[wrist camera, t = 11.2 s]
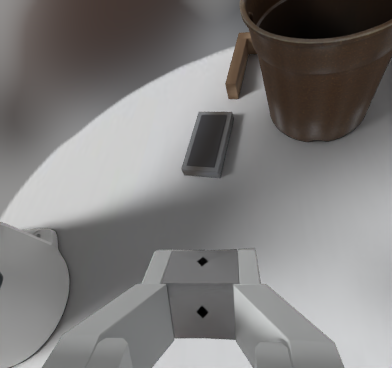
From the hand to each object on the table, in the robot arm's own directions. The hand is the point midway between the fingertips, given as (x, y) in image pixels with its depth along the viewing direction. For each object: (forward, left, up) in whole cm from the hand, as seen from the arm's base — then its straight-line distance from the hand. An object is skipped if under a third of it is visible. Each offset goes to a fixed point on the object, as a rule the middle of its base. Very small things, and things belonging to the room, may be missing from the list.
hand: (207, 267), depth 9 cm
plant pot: (+3, +29, -24) cm, 38 cm away
